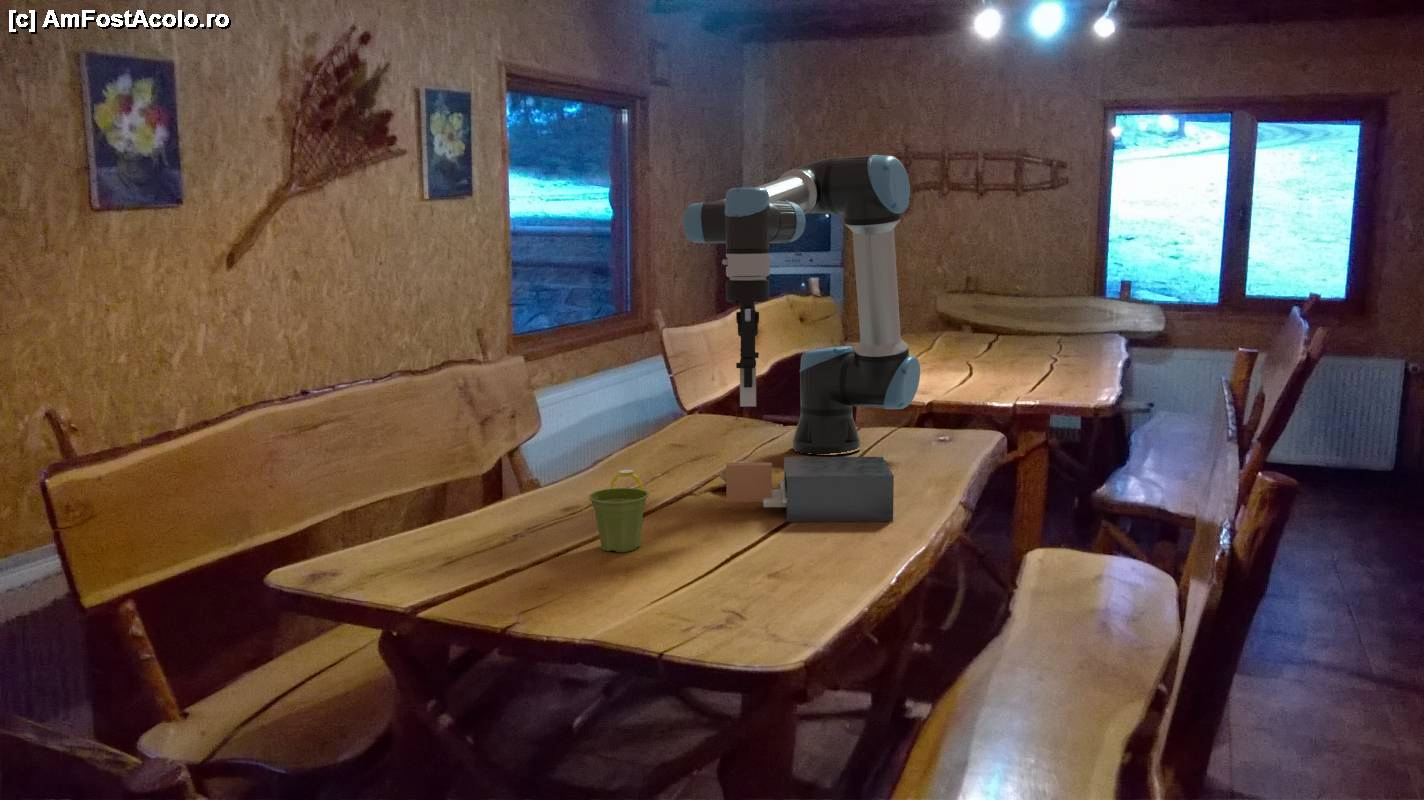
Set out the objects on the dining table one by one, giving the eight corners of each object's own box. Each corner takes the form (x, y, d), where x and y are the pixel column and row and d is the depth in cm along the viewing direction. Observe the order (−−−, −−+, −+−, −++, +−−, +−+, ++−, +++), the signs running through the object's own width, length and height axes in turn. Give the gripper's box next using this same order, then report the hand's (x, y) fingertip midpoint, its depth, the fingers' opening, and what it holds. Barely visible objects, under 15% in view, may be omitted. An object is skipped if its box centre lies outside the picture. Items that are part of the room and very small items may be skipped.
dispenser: (780, 499, 208) (779, 457, 207) (882, 499, 208) (882, 456, 206) (782, 522, 193) (782, 476, 191) (893, 521, 192) (893, 475, 191)
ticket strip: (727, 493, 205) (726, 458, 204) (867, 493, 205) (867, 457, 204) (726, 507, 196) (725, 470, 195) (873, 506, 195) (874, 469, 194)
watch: (610, 504, 208) (607, 473, 207) (615, 501, 210) (612, 470, 210) (641, 504, 206) (638, 472, 205) (646, 500, 209) (643, 469, 208)
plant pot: (603, 559, 172) (602, 504, 171) (581, 544, 181) (579, 491, 179) (659, 550, 177) (658, 496, 175) (635, 536, 185) (634, 485, 184)
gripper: (727, 276, 207) (727, 390, 210) (724, 281, 182) (725, 411, 185) (767, 275, 207) (768, 390, 210) (770, 281, 182) (770, 411, 185)
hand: (748, 400), depth 197 cm, fingers open, 13 cm apart
